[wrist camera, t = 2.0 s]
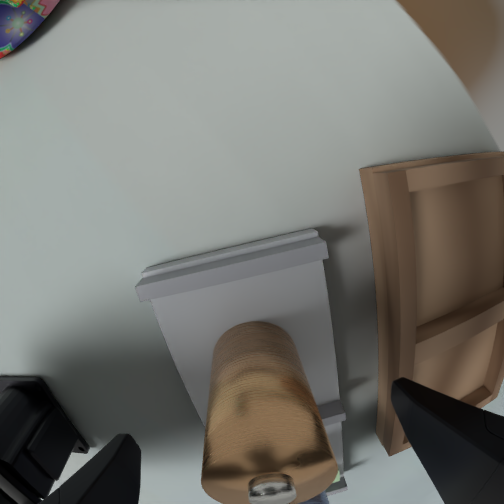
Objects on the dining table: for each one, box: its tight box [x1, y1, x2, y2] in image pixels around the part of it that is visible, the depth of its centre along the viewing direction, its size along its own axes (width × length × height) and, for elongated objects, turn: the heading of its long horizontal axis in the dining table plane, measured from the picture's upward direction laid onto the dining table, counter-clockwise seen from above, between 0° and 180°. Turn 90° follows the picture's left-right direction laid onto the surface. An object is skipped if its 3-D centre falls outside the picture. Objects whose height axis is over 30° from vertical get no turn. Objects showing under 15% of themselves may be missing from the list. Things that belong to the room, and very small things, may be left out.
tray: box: [359, 152, 504, 456], centre depth 12 cm, size 9×16×2 cm, turn 13°
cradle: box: [135, 228, 347, 496], centre depth 13 cm, size 7×18×2 cm, turn 13°
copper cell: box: [201, 321, 338, 504], centre depth 9 cm, size 4×4×7 cm
